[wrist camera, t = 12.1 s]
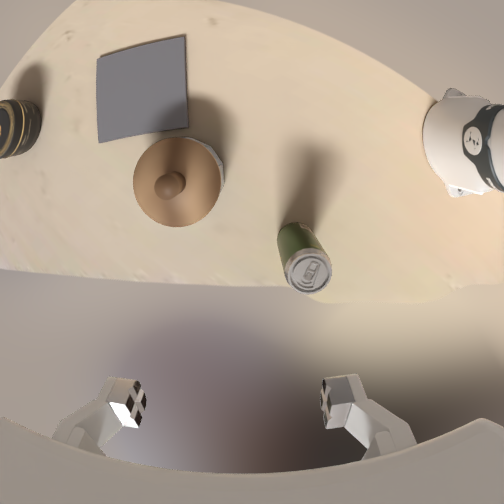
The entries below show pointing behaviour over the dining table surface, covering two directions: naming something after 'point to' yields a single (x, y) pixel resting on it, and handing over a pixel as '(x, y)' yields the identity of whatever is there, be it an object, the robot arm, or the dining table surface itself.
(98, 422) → the robot arm
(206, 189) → the lid
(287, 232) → the beer can
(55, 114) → the dining table surface
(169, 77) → the mat
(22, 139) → the jar
